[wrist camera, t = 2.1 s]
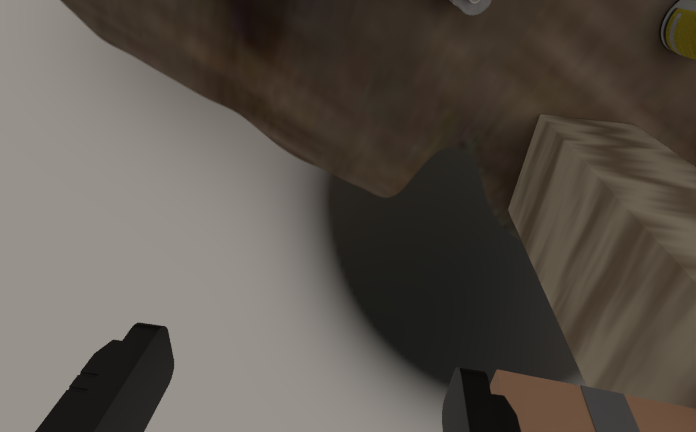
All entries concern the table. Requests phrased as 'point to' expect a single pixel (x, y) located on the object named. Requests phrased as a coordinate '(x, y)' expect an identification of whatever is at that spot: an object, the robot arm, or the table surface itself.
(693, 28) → the supplement bottle
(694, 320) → the socket tower
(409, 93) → the table surface
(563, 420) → the bar
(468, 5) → the lighter
